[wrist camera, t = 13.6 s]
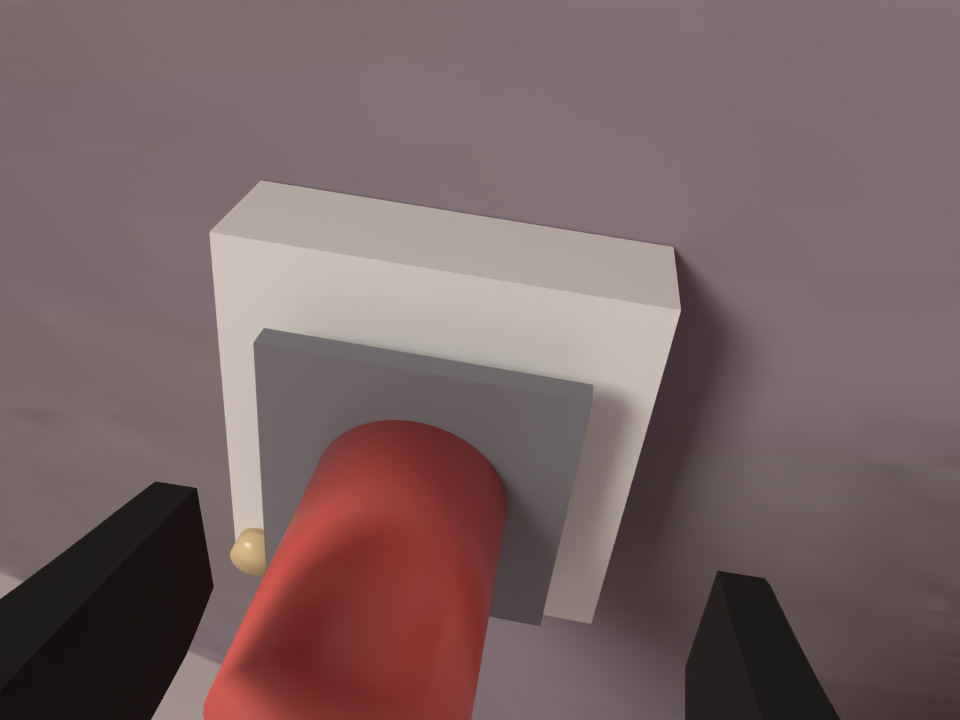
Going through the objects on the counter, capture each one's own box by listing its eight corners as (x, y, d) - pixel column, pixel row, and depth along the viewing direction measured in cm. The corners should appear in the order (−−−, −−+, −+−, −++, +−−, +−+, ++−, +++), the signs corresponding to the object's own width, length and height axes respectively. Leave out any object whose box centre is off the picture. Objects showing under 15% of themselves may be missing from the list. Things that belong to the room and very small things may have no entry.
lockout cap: (502, 424, 17) (450, 673, 12) (511, 572, 19) (472, 831, 14) (299, 416, 18) (172, 648, 13) (332, 559, 20) (237, 803, 15)
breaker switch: (596, 312, 19) (592, 402, 16) (550, 522, 23) (540, 626, 20) (308, 264, 20) (253, 342, 17) (310, 479, 24) (266, 573, 21)
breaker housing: (673, 247, 19) (683, 325, 16) (594, 543, 25) (590, 642, 22) (260, 180, 20) (197, 244, 17) (274, 484, 25) (228, 572, 22)
